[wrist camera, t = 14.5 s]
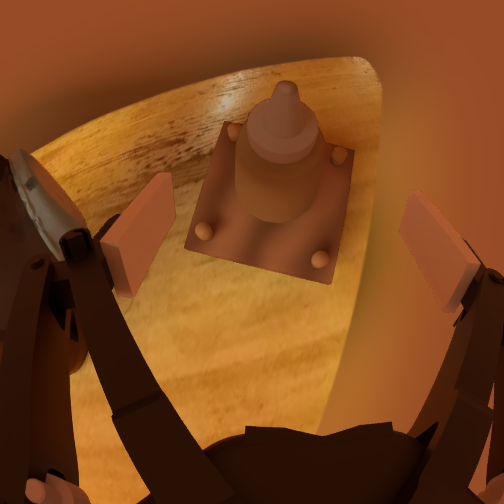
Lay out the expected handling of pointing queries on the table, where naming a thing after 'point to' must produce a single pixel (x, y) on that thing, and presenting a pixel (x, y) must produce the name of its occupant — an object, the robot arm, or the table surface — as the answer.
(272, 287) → the table surface
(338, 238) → the walnut stand
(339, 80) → the table surface
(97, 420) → the table surface
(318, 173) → the squeeze bottle
